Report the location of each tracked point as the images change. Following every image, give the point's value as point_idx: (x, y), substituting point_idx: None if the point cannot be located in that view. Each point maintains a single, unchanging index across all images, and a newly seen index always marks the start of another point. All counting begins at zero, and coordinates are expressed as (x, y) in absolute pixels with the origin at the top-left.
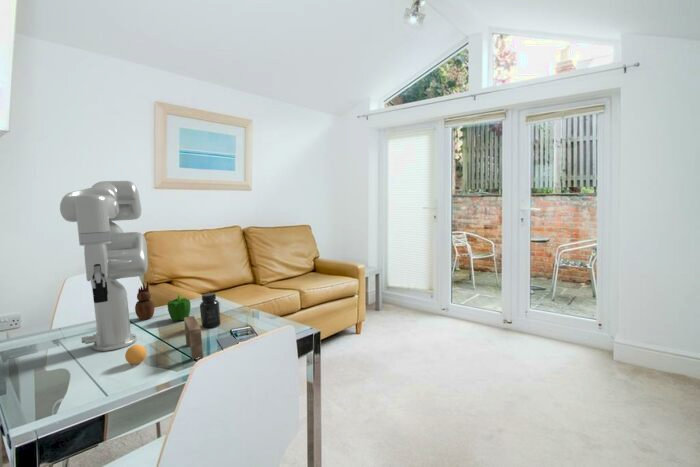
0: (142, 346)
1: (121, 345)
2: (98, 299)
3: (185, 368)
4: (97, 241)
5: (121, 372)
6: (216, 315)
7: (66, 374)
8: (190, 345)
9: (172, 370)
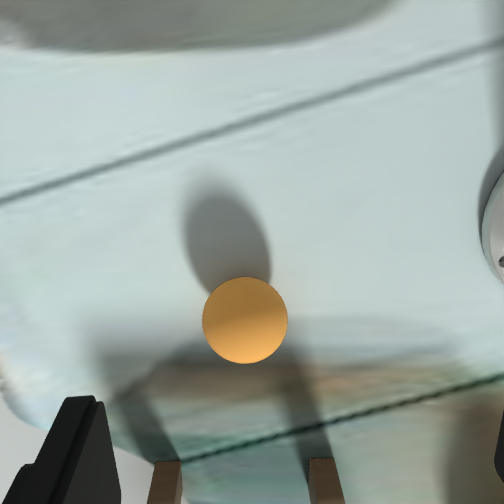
0: (247, 362)
1: (488, 248)
2: (30, 469)
3: None
4: None
5: (180, 248)
6: None
7: (301, 24)
8: (309, 469)
9: None
